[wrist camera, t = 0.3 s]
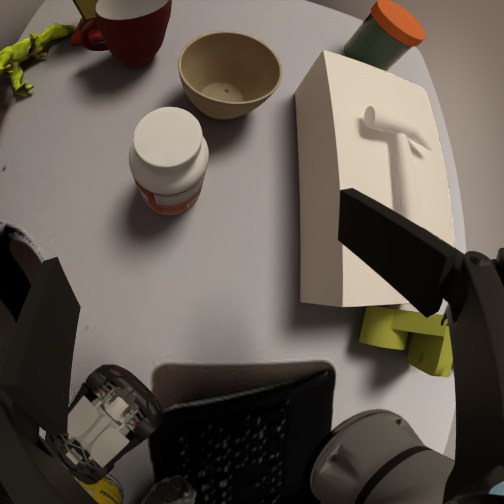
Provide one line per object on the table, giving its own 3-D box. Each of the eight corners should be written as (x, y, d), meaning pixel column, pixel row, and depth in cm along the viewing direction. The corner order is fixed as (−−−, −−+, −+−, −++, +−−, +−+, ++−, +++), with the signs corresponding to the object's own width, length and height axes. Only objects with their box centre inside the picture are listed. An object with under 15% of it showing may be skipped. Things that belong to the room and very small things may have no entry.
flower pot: (168, 78, 30) (169, 37, 23) (248, 66, 32) (262, 28, 25) (188, 148, 30) (191, 112, 23) (275, 130, 32) (297, 96, 25)
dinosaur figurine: (-12, 148, 24) (-36, 127, 18) (-37, 118, 22) (-57, 98, 16) (94, 39, 28) (88, 8, 22) (57, 22, 27) (49, -5, 21)
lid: (427, 51, 29) (434, 44, 28) (388, 40, 27) (396, 32, 26) (400, 13, 30) (407, 6, 28) (361, 1, 28) (367, -7, 26)
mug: (87, 91, 27) (67, 36, 18) (89, 48, 28) (76, -5, 18) (172, 72, 30) (175, 12, 20) (166, 32, 30) (168, -24, 21)
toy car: (88, 491, 19) (105, 474, 24) (166, 420, 21) (179, 404, 25) (39, 440, 20) (59, 428, 25) (102, 357, 22) (123, 350, 26)
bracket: (420, 364, 32) (350, 353, 35) (430, 319, 33) (360, 307, 36) (453, 379, 22) (360, 367, 24) (466, 318, 23) (374, 303, 25)
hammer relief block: (387, 117, 36) (436, 80, 26) (404, 297, 34) (472, 298, 23) (294, 92, 33) (332, 36, 23) (300, 302, 30) (358, 308, 20)
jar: (391, 79, 38) (430, 44, 28) (356, 74, 36) (394, 33, 26) (372, 45, 39) (405, 9, 28) (337, 39, 37) (368, -3, 27)
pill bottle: (139, 162, 28) (122, 102, 17) (198, 155, 30) (209, 94, 19) (142, 220, 28) (122, 183, 17) (204, 212, 29) (218, 172, 19)
